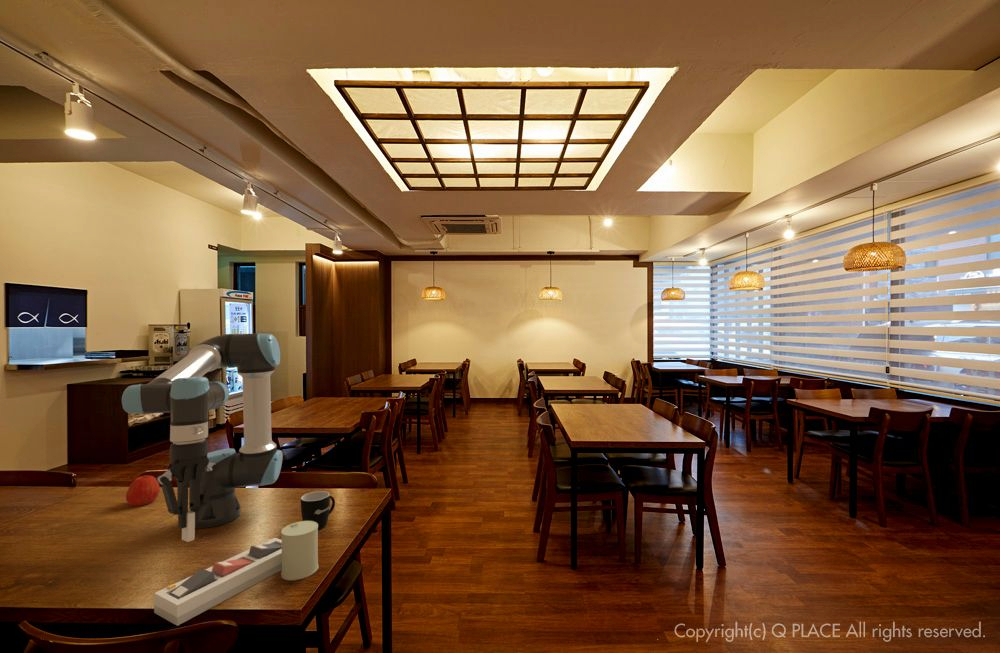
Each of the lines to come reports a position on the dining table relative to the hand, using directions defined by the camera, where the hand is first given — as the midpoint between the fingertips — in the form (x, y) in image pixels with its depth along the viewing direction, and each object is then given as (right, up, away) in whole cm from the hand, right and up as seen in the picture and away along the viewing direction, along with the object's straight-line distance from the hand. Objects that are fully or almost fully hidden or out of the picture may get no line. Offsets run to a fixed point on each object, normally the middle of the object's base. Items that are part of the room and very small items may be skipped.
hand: (188, 539), depth 103 cm
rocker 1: (+2, -10, -2) cm, 11 cm away
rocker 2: (+11, -10, +15) cm, 21 cm away
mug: (+14, -16, +41) cm, 46 cm away
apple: (-63, -17, +62) cm, 90 cm away
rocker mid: (+7, -10, +7) cm, 14 cm away
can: (+21, -15, +13) cm, 29 cm away
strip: (+9, -15, +10) cm, 20 cm away
